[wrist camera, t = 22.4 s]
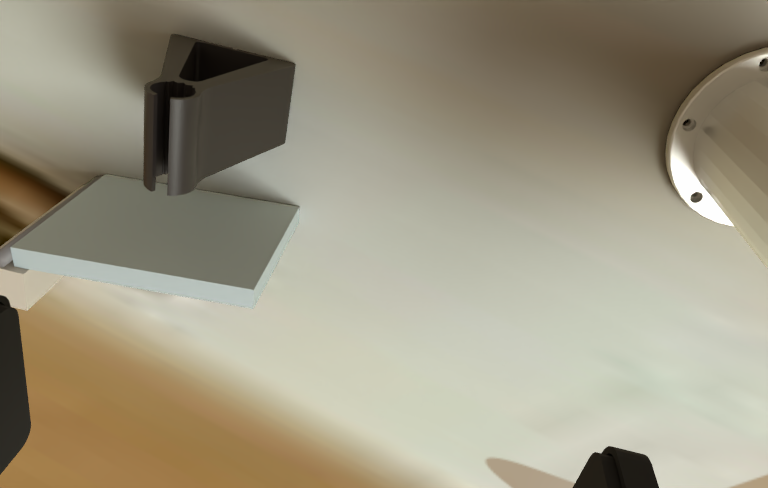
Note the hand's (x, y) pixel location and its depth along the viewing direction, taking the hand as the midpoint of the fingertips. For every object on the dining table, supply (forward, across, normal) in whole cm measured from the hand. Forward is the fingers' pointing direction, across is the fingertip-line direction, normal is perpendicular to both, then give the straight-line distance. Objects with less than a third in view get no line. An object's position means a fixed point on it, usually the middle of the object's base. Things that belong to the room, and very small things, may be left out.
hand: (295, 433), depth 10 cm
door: (+36, +15, +17) cm, 43 cm away
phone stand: (+37, +13, +8) cm, 40 cm away
